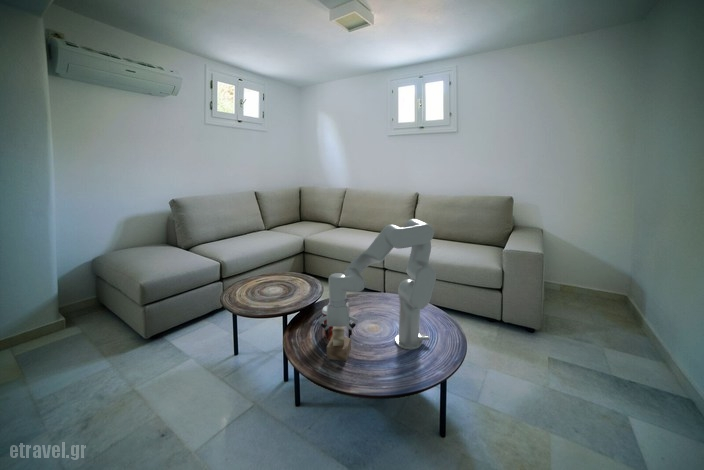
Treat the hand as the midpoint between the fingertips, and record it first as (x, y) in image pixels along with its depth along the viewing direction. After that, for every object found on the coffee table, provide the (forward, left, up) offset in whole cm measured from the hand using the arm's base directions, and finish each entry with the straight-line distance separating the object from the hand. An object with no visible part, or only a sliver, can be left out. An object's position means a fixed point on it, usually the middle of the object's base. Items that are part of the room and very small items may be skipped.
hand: (338, 336), depth 136 cm
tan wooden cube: (0, 0, -9) cm, 9 cm away
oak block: (0, 0, -3) cm, 3 cm away
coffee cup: (+5, -15, -9) cm, 18 cm away
